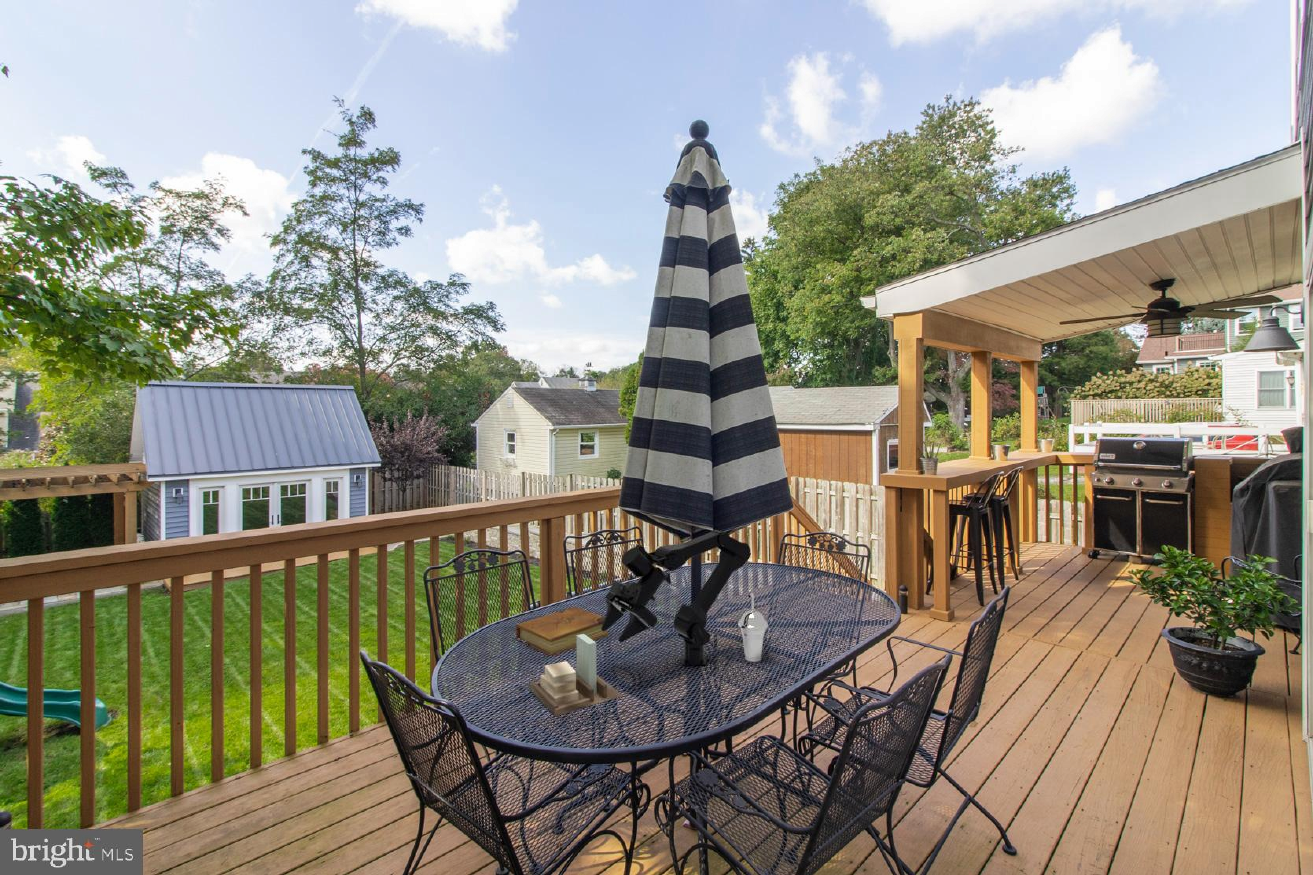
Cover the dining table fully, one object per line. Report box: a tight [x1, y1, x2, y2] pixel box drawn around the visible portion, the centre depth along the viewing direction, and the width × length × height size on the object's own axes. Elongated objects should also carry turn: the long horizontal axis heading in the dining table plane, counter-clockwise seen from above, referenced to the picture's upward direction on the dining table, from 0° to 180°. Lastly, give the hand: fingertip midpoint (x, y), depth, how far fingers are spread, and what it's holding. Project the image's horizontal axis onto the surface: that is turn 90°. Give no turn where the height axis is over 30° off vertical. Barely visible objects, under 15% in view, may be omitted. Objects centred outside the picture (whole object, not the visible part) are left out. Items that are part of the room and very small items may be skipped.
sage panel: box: [576, 634, 597, 694], centre depth 147 cm, size 2×7×13 cm, turn 33°
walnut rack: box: [529, 674, 624, 717], centre depth 146 cm, size 18×16×4 cm
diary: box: [515, 606, 611, 657], centre depth 185 cm, size 23×19×6 cm
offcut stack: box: [539, 661, 578, 706], centre depth 143 cm, size 7×9×7 cm
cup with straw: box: [737, 592, 769, 663], centre depth 167 cm, size 8×9×20 cm
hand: (610, 635), depth 151 cm, fingers open, 9 cm apart
